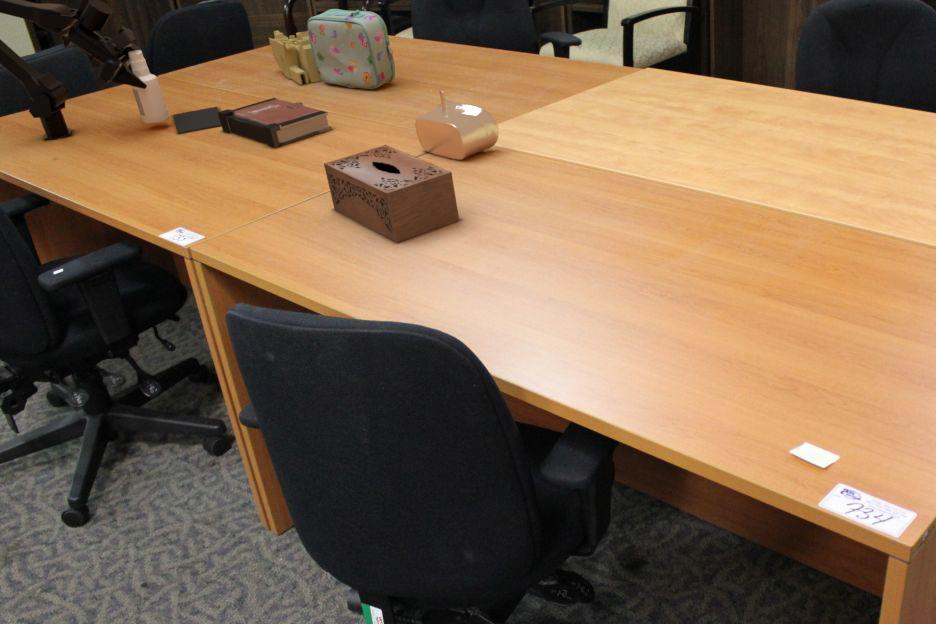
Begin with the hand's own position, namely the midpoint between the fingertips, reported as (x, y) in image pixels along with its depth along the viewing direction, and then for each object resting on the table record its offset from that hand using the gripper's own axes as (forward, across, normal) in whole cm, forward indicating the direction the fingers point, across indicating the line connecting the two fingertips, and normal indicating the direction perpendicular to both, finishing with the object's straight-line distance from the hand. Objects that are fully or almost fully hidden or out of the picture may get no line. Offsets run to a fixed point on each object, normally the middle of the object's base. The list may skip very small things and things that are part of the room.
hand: (150, 83), depth 258 cm
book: (+32, -13, -16) cm, 38 cm away
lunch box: (+44, +26, -28) cm, 58 cm away
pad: (+14, +4, +2) cm, 15 cm away
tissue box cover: (+58, -81, -42) cm, 109 cm away
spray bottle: (+6, 0, +8) cm, 10 cm away
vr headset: (+67, -44, -51) cm, 95 cm away
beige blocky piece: (+33, +46, -16) cm, 59 cm away
